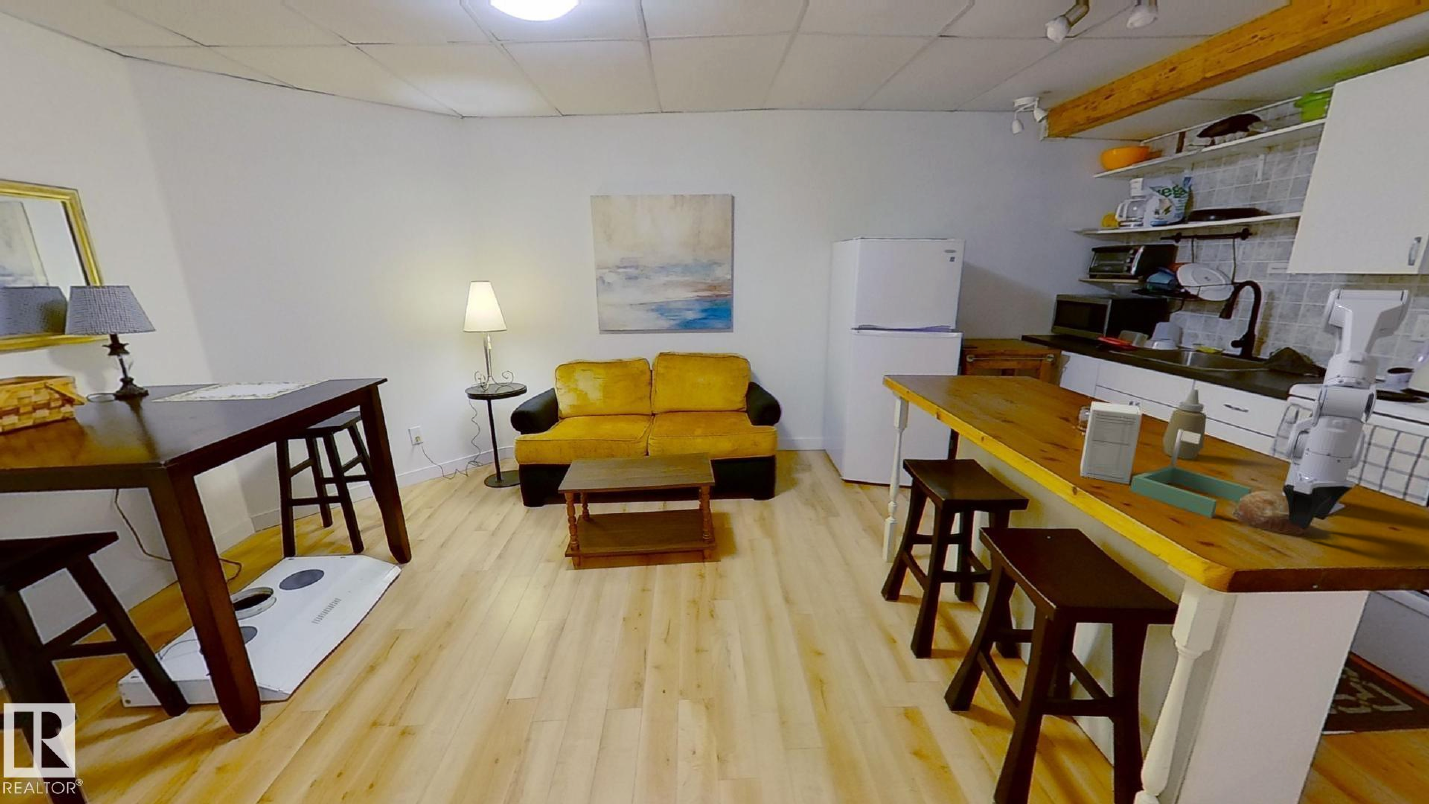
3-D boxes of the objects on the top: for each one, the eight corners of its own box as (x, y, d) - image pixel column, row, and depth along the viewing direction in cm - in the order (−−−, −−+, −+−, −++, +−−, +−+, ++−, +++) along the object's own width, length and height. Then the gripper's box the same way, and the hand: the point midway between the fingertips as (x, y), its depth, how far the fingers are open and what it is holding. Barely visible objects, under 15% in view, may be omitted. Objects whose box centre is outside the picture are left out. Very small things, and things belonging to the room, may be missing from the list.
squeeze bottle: (1152, 450, 141) (1166, 386, 137) (1185, 451, 140) (1200, 387, 135) (1173, 460, 133) (1189, 393, 129) (1208, 462, 132) (1225, 394, 128)
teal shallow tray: (1167, 479, 121) (1179, 428, 118) (1248, 503, 109) (1263, 447, 106) (1129, 491, 115) (1141, 437, 112) (1210, 517, 102) (1225, 458, 99)
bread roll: (1236, 525, 107) (1222, 489, 107) (1307, 518, 101) (1292, 479, 101) (1246, 545, 99) (1231, 505, 99) (1324, 538, 93) (1308, 496, 93)
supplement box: (1126, 472, 125) (1140, 405, 121) (1130, 485, 118) (1145, 414, 114) (1079, 464, 131) (1090, 400, 127) (1079, 476, 123) (1091, 408, 119)
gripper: (1345, 466, 86) (1322, 539, 89) (1378, 453, 92) (1355, 522, 95) (1286, 453, 92) (1266, 522, 95) (1320, 441, 98) (1300, 507, 101)
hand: (1307, 521), depth 96 cm, fingers open, 7 cm apart
